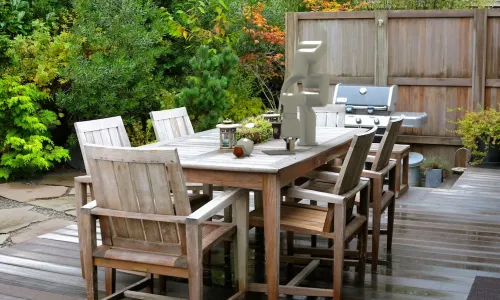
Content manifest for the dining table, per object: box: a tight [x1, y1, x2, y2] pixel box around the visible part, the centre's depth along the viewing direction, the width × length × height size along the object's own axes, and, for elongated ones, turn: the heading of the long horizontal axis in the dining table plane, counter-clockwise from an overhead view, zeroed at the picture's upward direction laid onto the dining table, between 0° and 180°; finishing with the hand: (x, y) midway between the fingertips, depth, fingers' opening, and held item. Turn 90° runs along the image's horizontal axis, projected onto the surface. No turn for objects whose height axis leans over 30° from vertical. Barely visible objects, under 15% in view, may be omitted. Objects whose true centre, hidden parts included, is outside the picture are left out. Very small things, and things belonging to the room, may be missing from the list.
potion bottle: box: [232, 137, 255, 159], centre depth 370 cm, size 9×10×15 cm
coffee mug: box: [270, 121, 282, 140], centre depth 448 cm, size 12×9×10 cm
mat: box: [261, 149, 296, 156], centre depth 382 cm, size 16×14×1 cm
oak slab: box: [288, 138, 295, 152], centre depth 392 cm, size 7×2×6 cm, turn 15°
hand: (290, 149), depth 392 cm, fingers closed on oak slab, 1 cm apart
